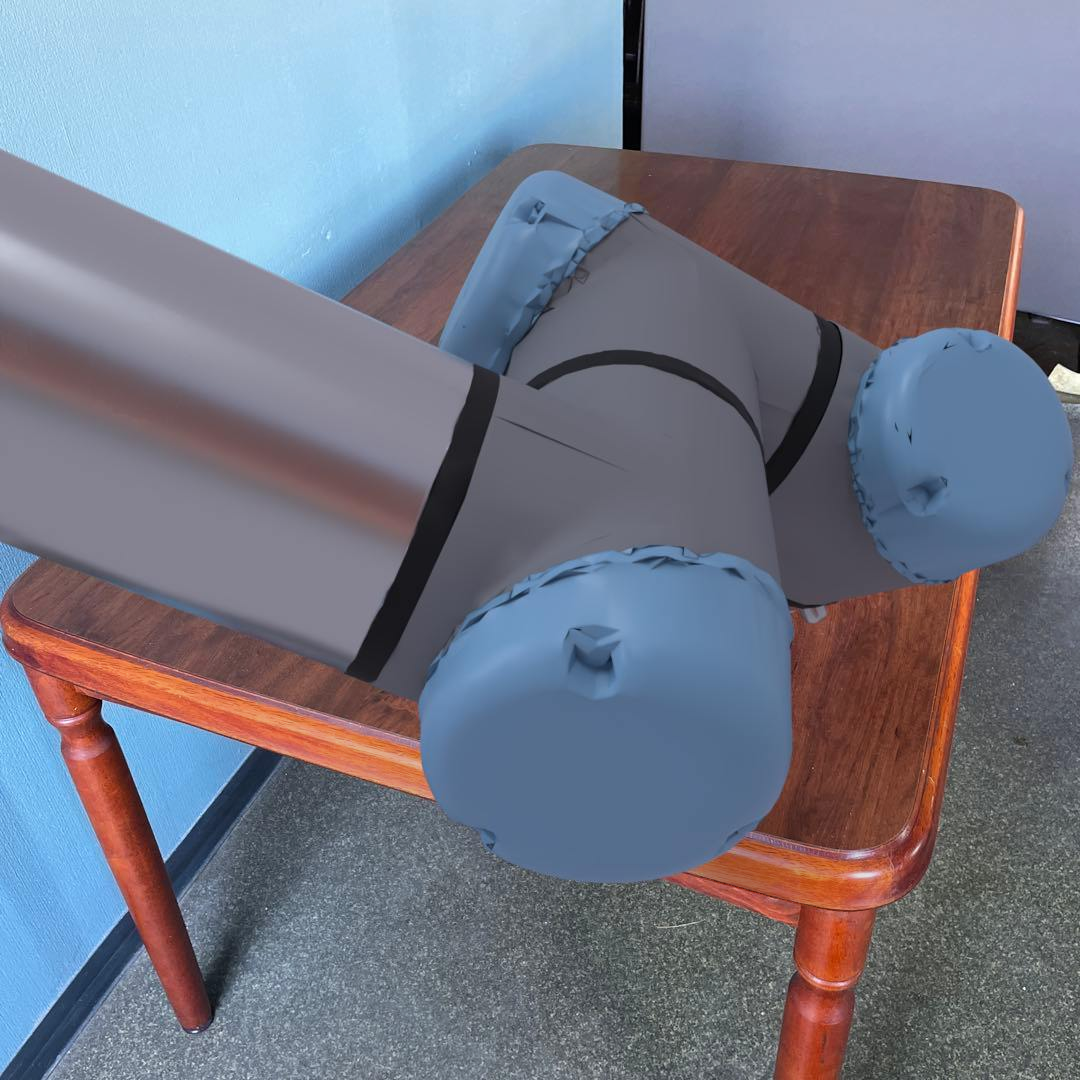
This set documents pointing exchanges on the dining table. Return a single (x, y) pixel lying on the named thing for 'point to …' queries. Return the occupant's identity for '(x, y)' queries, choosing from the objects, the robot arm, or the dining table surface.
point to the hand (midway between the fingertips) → (565, 604)
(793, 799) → the dining table surface
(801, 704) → the dining table surface
